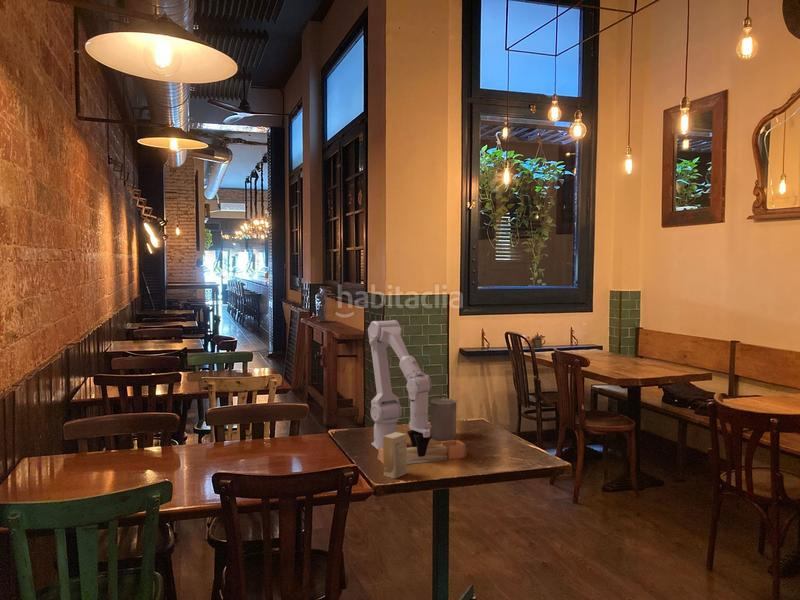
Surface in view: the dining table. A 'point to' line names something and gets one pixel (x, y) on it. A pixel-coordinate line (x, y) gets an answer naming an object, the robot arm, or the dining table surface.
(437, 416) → the pillar candle
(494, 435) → the dining table surface
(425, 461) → the guide rails
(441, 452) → the pale wooden block
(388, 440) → the skincare box
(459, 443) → the pink open box
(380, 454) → the cap sliding
